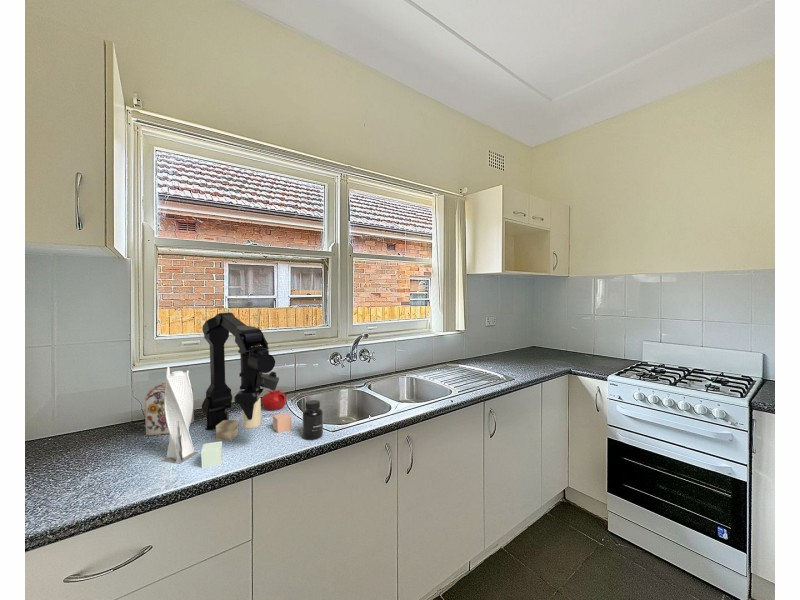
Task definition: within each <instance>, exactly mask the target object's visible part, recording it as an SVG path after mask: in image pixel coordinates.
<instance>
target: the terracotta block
mask: <svg viewBox="0 0 800 600" xmlns="http://www.w3.org/2000/svg"><path fill="white" fill-rule="evenodd" d="M292 429H293V428H292V415H290V414H289V413H288V412H283V413H278V414H274V415H272V430H274V431H275V433H277V434H280V433H284V432H288V431H291V430H292Z"/></svg>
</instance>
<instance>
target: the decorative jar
mask: <svg viewBox="0 0 800 600" xmlns="http://www.w3.org/2000/svg"><path fill="white" fill-rule="evenodd" d="M166 382H167V379H165V380H163V381H161V384H158V385H155V386H153V387H151V388H150V389H149V391H148V392H147V394H146V395H145V397H144V420H145V436H147V435H149V436H160V435H161V434H165V435H170V433H169V430H168V426H167V422H166V416H165V406H164V400H165V388H166ZM191 388H192V394H193V395H194V391H193V390H194V389H193V387H192V386H191ZM194 407H195V406H194V404H193V411H192V418H191V422H190V425H192V424H193V423H194V422H193V421H195V411H194V410H195V408H194ZM192 422H193V423H192ZM191 423H192V424H191ZM161 436H162V435H161Z"/></svg>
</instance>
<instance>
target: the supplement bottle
mask: <svg viewBox="0 0 800 600" xmlns="http://www.w3.org/2000/svg"><path fill="white" fill-rule="evenodd" d="M323 434H324V412H323V410H322V409H321V402H320V401H319V400H316V399H313V400H307V401H305V409H304V411H303V412H302V437H303V439H305V440H307V441H314V439H315V440H318V438H319V439H321V438H322V437H323Z"/></svg>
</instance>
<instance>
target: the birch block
mask: <svg viewBox="0 0 800 600" xmlns="http://www.w3.org/2000/svg"><path fill="white" fill-rule="evenodd" d="M238 422H239V421H238V420H237V419H235V420H234V419H229V420H223V421H222V422H221V423H219V424H218V425H216V429H215V440H216V441H232V440H233V439H234V438H235V437H236V436H237V435H239V423H238Z"/></svg>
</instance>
